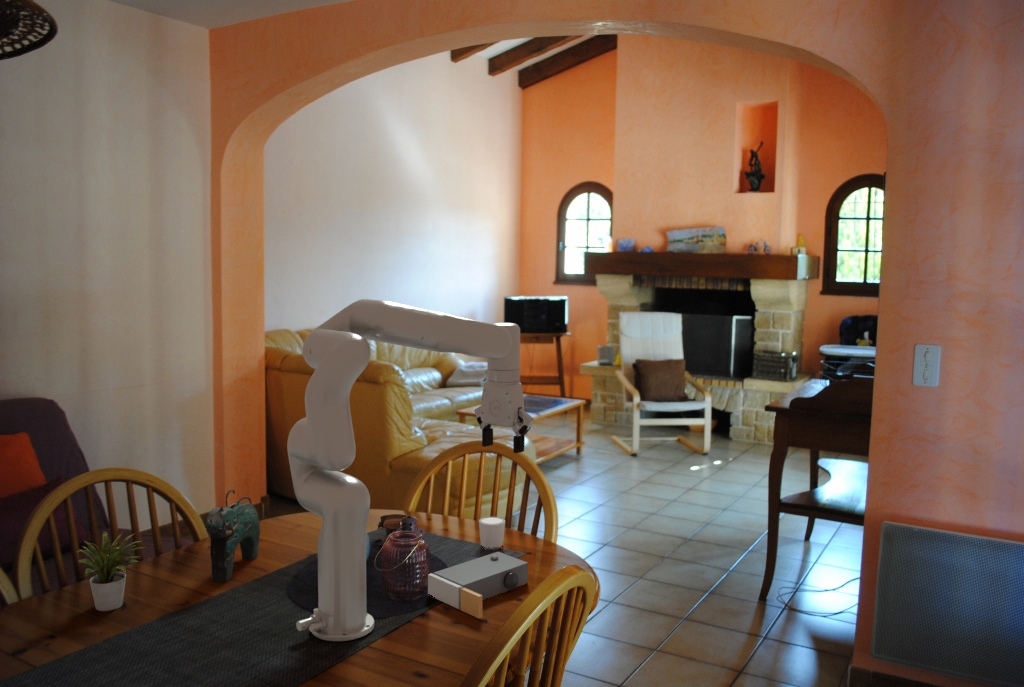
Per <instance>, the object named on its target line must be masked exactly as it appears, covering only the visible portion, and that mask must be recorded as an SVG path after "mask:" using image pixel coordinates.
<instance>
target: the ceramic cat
mask: <svg viewBox="0 0 1024 687" xmlns="http://www.w3.org/2000/svg"><path fill="white" fill-rule="evenodd" d="M230 493H233V495H235V494H236V490H234V489H230V490H228V491H227V492H226V495H225V505H226V507H223V506H221V507H214V508H212V509H211V510H210V512H209V513H208V515H207V519H206V531H207V533H208V534H209V536H210V549H209V550H210V560H211V562H210V563H211V578H212V582H214V583H221V584H222V583H223V584H224V583H225V584H226V583H228V582H229V581H231V579H232V576H233V567H234V559H235V554H236V550H237V548H238V546H240V553H241V560H242V561H254V560H257V558H258V556H259V546H260V539H261V538H260V536H261V526H260V525H261V524H260V523H261V522H260V518H259V515H258V511H257V509H256V508H255V506H254V505H253V504H252V500H251V498H250V497H249V496H243V497H241V498H240V499H238V501H237V502H234V503H232V504H231V503H230V505H228V498H229V494H230ZM246 499H247V500H248V502H249V503H247V502H241V501H242V500H246Z"/></svg>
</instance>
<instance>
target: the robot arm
mask: <svg viewBox="0 0 1024 687" xmlns="http://www.w3.org/2000/svg"><path fill="white" fill-rule="evenodd" d="M369 341H373V342H381V343H385V344H390V345H396V346H402V347H407V348H414V349H418V350H423V351H428V352H429V351H430V352H437V353H452V354H461V355H464V356H468V357H474V358H482V359H486V360H487V369H485V373H484V374H485V375H487V380H485V381H484V383H483V387H482V394H481V402H480V406H478V407H477V408H475V409H474V410H473V411H474V414H475V417H476V421H477V423H478V424H479V428H480V430H481V431H482V432H481V437H482V438H481V439H482V441H481V446H482V447H484V448H485V447H490V446H492V445H494V428H492V426H496V427H500V428H501V427H502V428H511V429H512V431H513V432H514V434H515V435H514V436H512V437H513V441H512V442H513V443H512V445H513V448H512V450H513V453H514V454H519V453H524V452H525V439H526V438H525V437H526V436H525V435H527V434H528V432H529V431H530V430H531V427H532V425H533V423H534V419H535V418H534V417H532V415H530V414H529V413H528V412H527V411H526V410H525V399H524V392H523V385H522V383H521V376H520V375H521V328H520V326H519V325H518V324H517V323H513V322H494V323H489V322H484V321H480V320H475V319H470V318H465V317H460V316H457V315H456V316H455V315H452V314H449V313H446V312H441V311H436V310H431V309H426V308H421V307H418V306H413V305H409V304H403V303H399V302H394V301H390V300H382V299H381V300H380V299H369V298H364V299H363V298H362V299H358V300H356V301H354V302H352V303H350V304H349V305H347V306H345V307H344V308H343V309H341V310H340V311H338V312H337V313H336V314H333V316H332V317H329V319H327V320H325V321H324V322H323V323H321V324H320V325H319V326H317V327H316V328H315V329H313V330H312V331H311V332H310V333H309V334H308V335H307V336H306V338H305V339H304V342H303V344H302V349H301V350H302V351H301V352H302V357H303V359H304V361H305V363H306V364H307V365H308V366H310V368H312V369H314V371H313V373H312V375H311V377H310V379H309V380H308V382H307V385H306V388H305V392H304V407H305V417H302V418H301V419H299V420H297V421H296V422H295V424H294V425H293V426H292V428H290V432H289V433H288V437H287V442H286V443H287V444H286V446H287V447H286V448H287V449H286V450H287V456H288V463H289V467H290V468H289V469H290V474H291V479H292V485H293V486H292V487H293V491H294V495H295V498H296V500H297V502H298V503H299V505H300V506H301V507H302V508H303V509H305V510H306V511H308V512H310V513H311V514H314V515H316V516H317V517H318V516H319V517H321V518H322V524H321V528H320V530H319V533H318V537H317V549H316V550H317V553H316V554H317V588H318V589H317V593H318V594H317V596H318V599H317V600H318V603H317V604H318V607H316V608H314V609H313V614H311V615H310V616H309V617H307V618H304V619H299V620H296V624H295V626H296V629H297V630H298V632H301V631H304V630H306V629H309V630H308V631H310V632H311V634H312V635H313V636H314V637H316V638H317V639H320V640H323V641H329V642H346V641H352V640H357V639H359V638H362V637H364V636H367V635H368V634H369V633H371V632H372V631H373V629H374V628H375V619H374V618H375V617H373V615H371V614H370V613H368V612H367V610H368V609H367V527H368V526H367V524H368V520H369V519H368V518H369V513H370V508H371V495H370V493H369V489H368V488H367V486H366V485H365V484H364V482H362V481H361V480H359V479H358V478H357V477H354V476H353V475H351V474H347V473H344V472H341V471H344V470H346V469H348V468H349V467H350V466H352V464H353V462H354V460H355V458H356V453H357V452H356V451H357V450H356V448H357V447H356V446H357V445H356V440H355V439H356V437H355V431H354V428H353V427H354V426H353V421H352V420H353V419H352V414H351V413H352V412H351V404H350V403H351V402H350V396H351V391H352V388H353V386H354V384H355V382H356V380H357V379H358V378H359V377H360V375H361V374H362V372H364V370H366V368H367V367H368V364H369V362H370V360H371V356H372V354H371V353H372V352H371V345H370V344H369Z"/></svg>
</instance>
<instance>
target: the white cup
mask: <svg viewBox="0 0 1024 687" xmlns="http://www.w3.org/2000/svg"><path fill="white" fill-rule="evenodd" d="M478 527H479V528H478V529H479V538H480V540H479V541H480V546H481V545H482V546H484V547H487V548H488V547H490V548H493V547H500V546H502V545H503V546H504V538H505V529H506V520H505V518H502V517H500V516H485V517H482V518H479V519H478Z"/></svg>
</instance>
